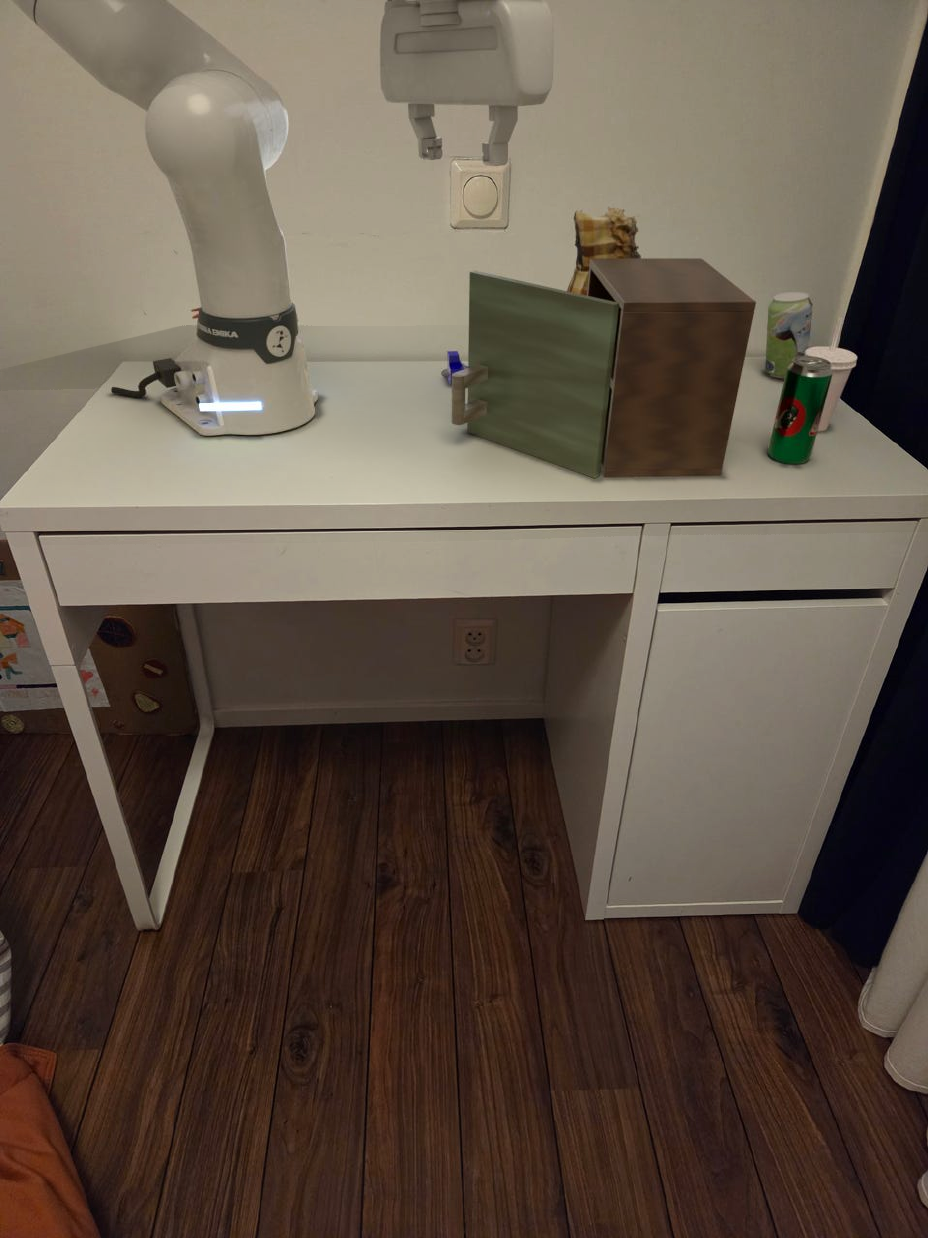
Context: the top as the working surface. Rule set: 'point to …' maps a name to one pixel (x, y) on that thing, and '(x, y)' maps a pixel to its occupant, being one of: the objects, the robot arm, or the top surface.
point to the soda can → (800, 409)
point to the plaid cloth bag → (601, 242)
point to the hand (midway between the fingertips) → (461, 162)
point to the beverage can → (787, 331)
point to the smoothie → (834, 373)
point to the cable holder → (453, 364)
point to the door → (537, 370)
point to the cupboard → (671, 364)
